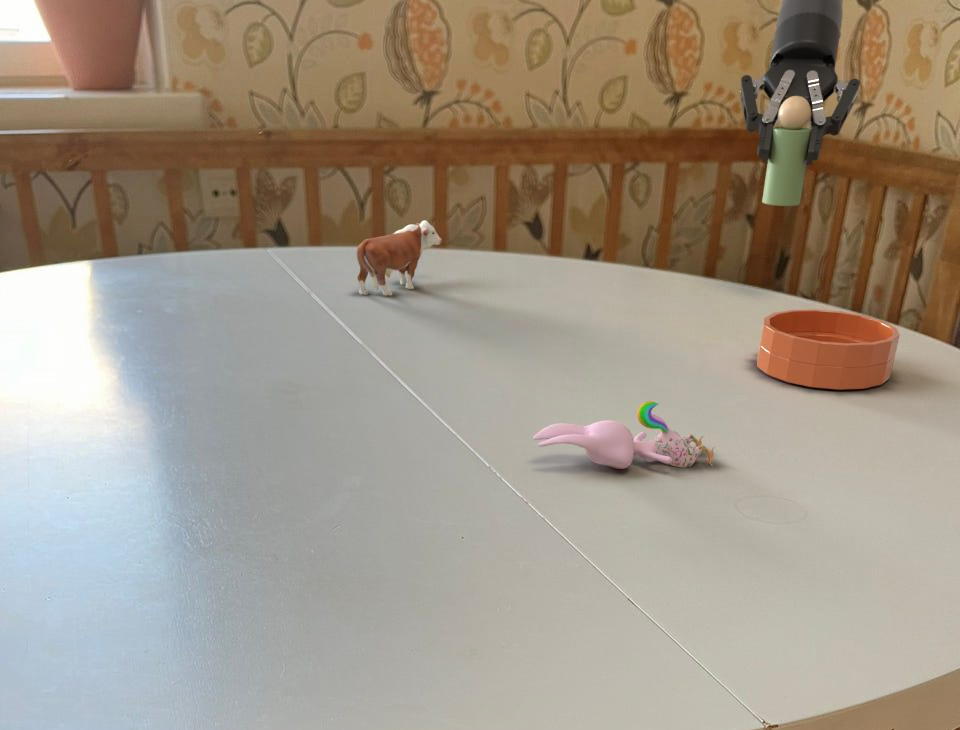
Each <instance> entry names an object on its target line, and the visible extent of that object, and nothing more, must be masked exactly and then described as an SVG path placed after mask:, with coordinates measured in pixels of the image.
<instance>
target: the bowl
mask: <svg viewBox="0 0 960 730" xmlns="http://www.w3.org/2000/svg"><path fill="white" fill-rule="evenodd" d="M900 336H901V335H900V333H899V330H898V328H897V327H896V326H893V325H892V324H890V323H889V322H886V321H885V320H881V319H877V318H874V317H872V316H871V317H870V316H867V315H864V314H859V313H852V312H847V311H839V310H828V309H827V310H826V309H816V308H815V309H813V308H812V309H788V310H782V311H778V312H773V313H771V314H769V315H767V316H765V317H764V318H763V320H762V327H761V333H760V338H759V344H758V345H759V346H758V350H757V358H756V367H757V368H758V369H759V370H761V371H762V372H763V373H764V374H766V375H768V376H770V377H773V378H775V379H778V380H781V381H783V382H786V383H790V384H794V385H800V386H804V387H809V388H816V389H829V390H839V391H840V390H865V389H869V388H872V387H877V386H882V385H883V384H884V383H886V382H887V381H888V380H890V378H891V375H892V370H893V366H894V362H895V357H896V353H897V350H898V349H897V348H898V344H899V340H900Z"/></svg>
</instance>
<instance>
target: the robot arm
mask: <svg viewBox="0 0 960 730" xmlns="http://www.w3.org/2000/svg"><path fill="white" fill-rule="evenodd" d="M843 3H844V0H782V2H781V6H780V7H779V8H780V10H779V12H778V14H777V20H776V25H775V31H774V34H773V44H772V48H771V49H772V50H771V55H770V61H769V67H768V69H767V70H766V72H765V73H764V75H763V76H762V77H758V78H753V79H752V76H751V75H749V74H745V75H743V76H741V79H740V90H739V97H740V103H741V107H742V108H741V109H742V115H743V120H744V124H745V130H746V131H747V132H749V133H753V132H757V133H758V134H759V135H758V136H759V137H758V141H757V142H758V143H757V151H756V155H757V157H758V158H761V163H767V164H768V158H769V152H770V145H771V138H772V131H773V128H775V127H776V125H778V124H779V120H778V112H779V108H780V106H781V105H782V103H783V102H784V101H785V100H786V99H788V98H790V97H792V96H801V97H803V98H805V99H806V100H807V101H808V103H809V105H810V108H811V114H810V118H809V120H808V122H807V124H808V126H809V127H810V129H811V136H810V142H809V148H808V154H807V160H806V166H812V165H813V162H814V161H818V160H819V159H820V157H821V151H822V145H823V139H824V137H825V136H827V135H830V136H837V135H839V134H840V132H841V130H842V128H843V127H844V125H845V122H846V120H847V119H848V117H849V115H850V113H851V111H852V109H853V107H854V105H855V103H856V101H857V98H858V93H859V89H860V85H861V82H860V80H859V79H858V78H852V79H850V80H849V81H848V82H847V81H843V80H840V79H839V77H838V75H837V73H836V65H837V59H838V58H837V57H838V52H839V51H838V50H839V45H840V44H839V43H840V39H841V36H842V32H841V30H842V25H843ZM761 91H763V92H764V94H765V95H766V96H767V97H768V99H769V103H768V106H767V108H766V109H765V112H764V114H762V113H760V112H759V110H758V104H757V99H758V98H759V96H760V92H761ZM834 93H835V94H836V101H837V102H838V103H837V105H836V106H835V108H834V110H833V113H832V114H831V115H830V116H829V115H828V116H826V114H825V108H824V103H825V101H826V100H828V99H829V98H830V97H831V96H832V95H833V94H834Z"/></svg>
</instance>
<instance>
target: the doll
mask: <svg viewBox="0 0 960 730" xmlns="http://www.w3.org/2000/svg"><path fill="white" fill-rule="evenodd" d="M810 114H811V108H810V105H809V103H808V101H807V100H806V99H805V98H803V97H801V96H792V97H790V98H788V99H786V100H785V101H784V102H783V103H782V105H781V106H780V108H779V112H778V120H779V122H778V124H780V126H775V127H774V128H773V131H772V138H771V145H770V152H769V158H768V163H767V164H766V171H765V177H764V178H765V179H764V186H763V193H762V194H763V195H762V199H761V203H762V204H765V205H768V206H775V207H777V206H778V207H795V206H799V205H800V204H801V200H802V193H803V187H804V180H805V174H806V167H807V165H806V160H807V154H808V148H809V142H810V136H811V128H807V127H805V126H806V125H807V124H808V120H809V118H810Z"/></svg>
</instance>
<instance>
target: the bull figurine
mask: <svg viewBox="0 0 960 730" xmlns="http://www.w3.org/2000/svg"><path fill="white" fill-rule="evenodd" d="M442 240H443V239H442V238H441V237H440V236H439V234H438V232H437V231H436V229H435V227H434V226H433V225H431V223H430V222H429V221H427V220H426V219H425V220H422V221H421V222H420V223H419V222H416V223H415V224H414V223H413V224H408V225H406V226H404V227H403V228H402V229H398V230H396V231H395V232H393V233H390V234H386V235H382V236H377V237H371V238H366V239H364V240H363V241H362V242H361V243H359V245H358V246H357V248H356V259H357V263H358V265H359V273H358V275H357V281H358V285H359V291H358V294H360V295H363V296H365V295H366V296H367V295H368V294H369V292H368V291H367V289H366V280H367V278H368V275H369V277H370V281H371V284H372V285H373V288H374V289H375V291H378V290H379V286H380V287H381V290H382V296H386V297H388V296H393V292H391V290H390V289H389V287H388V285H387V282H386V278H387V279H390V277H391V275H392V273H393V272H398V274H399V277H400V281H399V284H400V285H401V286H405V289H407V290H414V289H415V287H414V285H413V279H414V277H415V272H416V269H417V267H418V264H419V260H420V257H422V255H423V252H424V251H426V250H427V251H428V250H429V249H430V248H431V247H432V246H434V245H436V246H440V245H441V244H442ZM406 276H407V278H406Z"/></svg>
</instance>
